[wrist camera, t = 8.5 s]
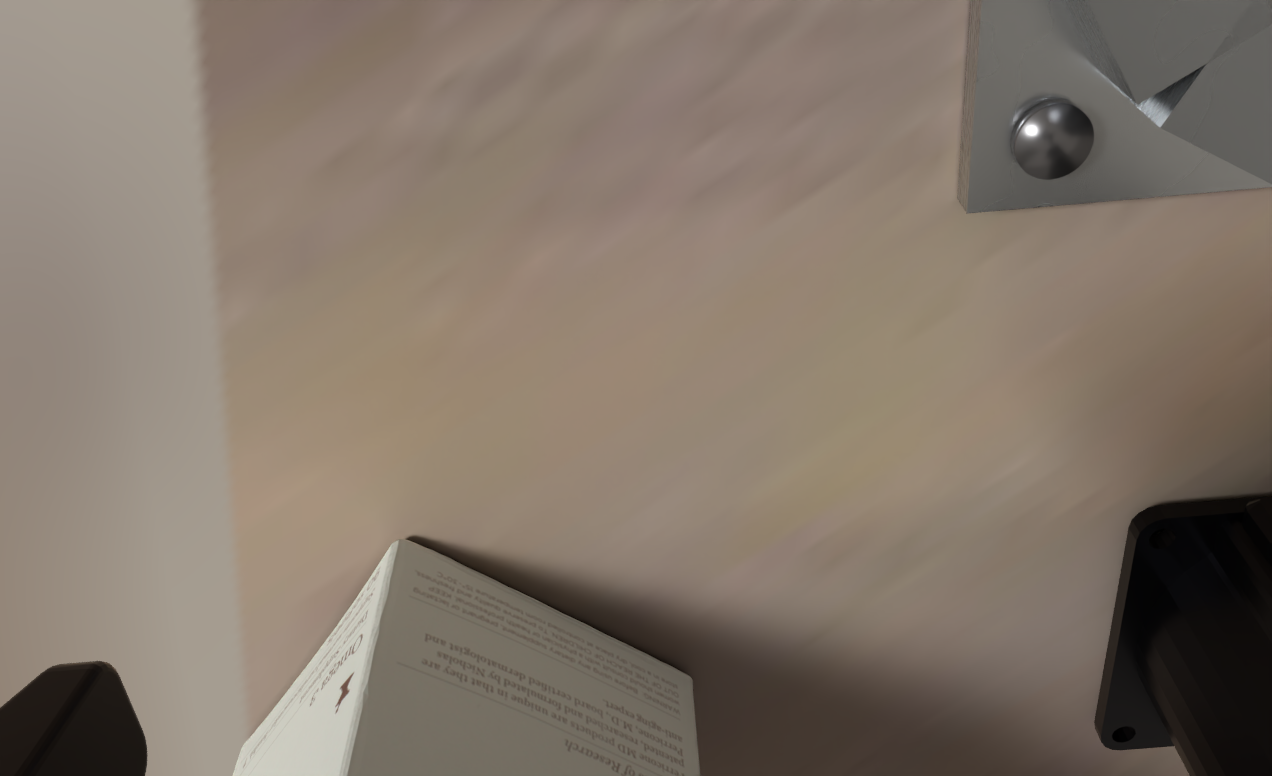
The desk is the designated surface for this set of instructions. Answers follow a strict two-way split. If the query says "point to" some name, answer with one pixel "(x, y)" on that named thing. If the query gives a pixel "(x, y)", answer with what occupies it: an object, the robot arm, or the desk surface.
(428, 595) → the supplement box
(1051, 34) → the duct flange
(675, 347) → the desk surface
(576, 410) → the desk surface
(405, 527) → the desk surface
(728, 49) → the desk surface
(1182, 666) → the robot arm
